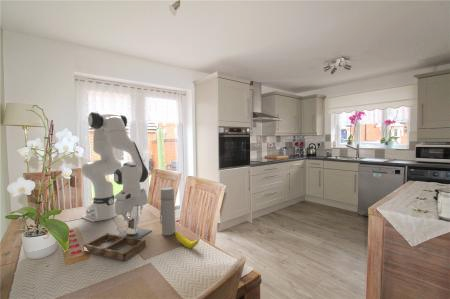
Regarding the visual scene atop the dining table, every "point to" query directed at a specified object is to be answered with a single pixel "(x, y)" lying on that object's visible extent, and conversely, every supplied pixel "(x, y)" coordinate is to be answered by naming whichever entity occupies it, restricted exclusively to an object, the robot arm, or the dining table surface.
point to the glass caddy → (115, 246)
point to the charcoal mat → (139, 235)
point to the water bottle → (167, 211)
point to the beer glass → (133, 220)
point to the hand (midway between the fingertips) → (133, 217)
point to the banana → (186, 241)
